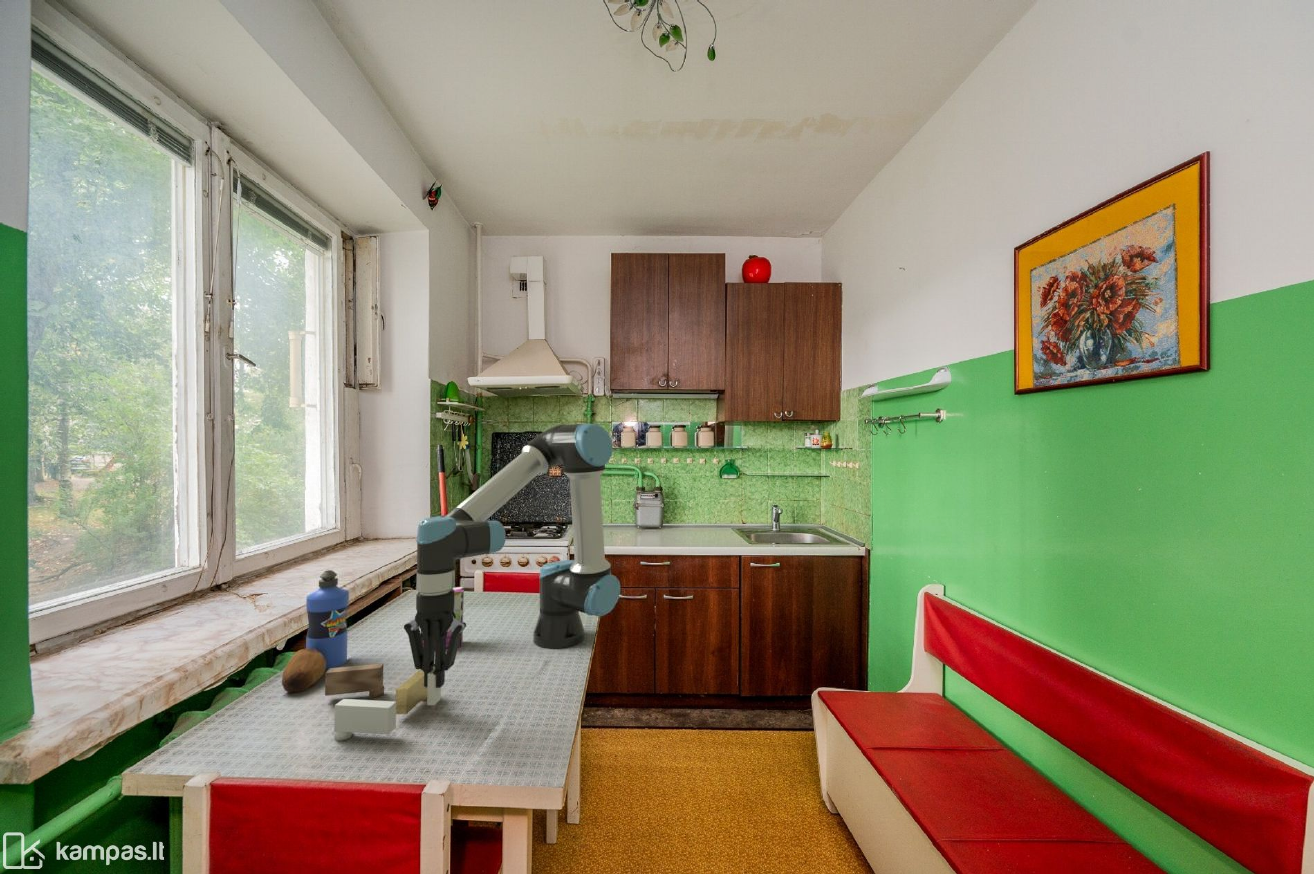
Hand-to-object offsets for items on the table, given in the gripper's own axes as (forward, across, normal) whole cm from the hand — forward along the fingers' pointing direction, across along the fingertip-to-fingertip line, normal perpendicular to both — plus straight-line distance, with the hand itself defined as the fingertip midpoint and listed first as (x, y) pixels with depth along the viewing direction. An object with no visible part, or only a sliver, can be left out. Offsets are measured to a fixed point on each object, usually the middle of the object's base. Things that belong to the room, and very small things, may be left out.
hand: (434, 701), depth 107 cm
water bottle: (+4, +41, -21) cm, 46 cm away
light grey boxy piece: (+2, +9, +10) cm, 13 cm away
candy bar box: (+4, +18, -37) cm, 41 cm away
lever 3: (+2, +5, -2) cm, 6 cm away
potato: (+4, +38, -10) cm, 39 cm away
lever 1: (+2, +21, -5) cm, 22 cm away
